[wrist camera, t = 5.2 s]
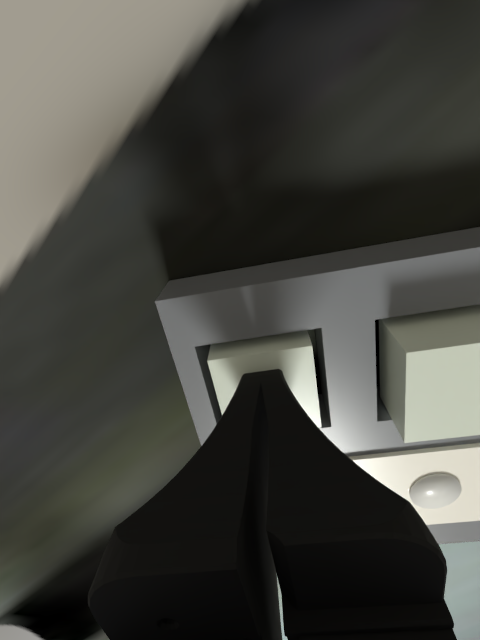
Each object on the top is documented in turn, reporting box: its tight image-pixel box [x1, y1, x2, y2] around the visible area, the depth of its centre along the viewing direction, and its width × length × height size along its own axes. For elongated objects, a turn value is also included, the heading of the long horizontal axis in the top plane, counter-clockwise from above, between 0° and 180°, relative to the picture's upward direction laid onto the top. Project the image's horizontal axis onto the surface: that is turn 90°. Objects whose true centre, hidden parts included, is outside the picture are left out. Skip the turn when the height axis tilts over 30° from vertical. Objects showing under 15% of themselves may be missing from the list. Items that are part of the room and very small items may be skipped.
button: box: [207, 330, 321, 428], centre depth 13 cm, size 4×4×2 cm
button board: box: [155, 227, 480, 544], centre depth 14 cm, size 18×14×2 cm
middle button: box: [379, 304, 480, 443], centre depth 11 cm, size 4×4×2 cm
